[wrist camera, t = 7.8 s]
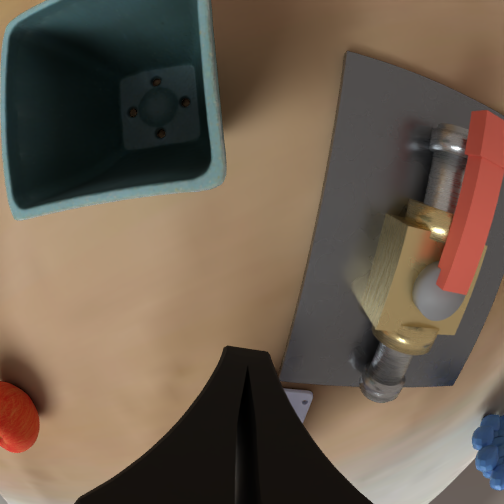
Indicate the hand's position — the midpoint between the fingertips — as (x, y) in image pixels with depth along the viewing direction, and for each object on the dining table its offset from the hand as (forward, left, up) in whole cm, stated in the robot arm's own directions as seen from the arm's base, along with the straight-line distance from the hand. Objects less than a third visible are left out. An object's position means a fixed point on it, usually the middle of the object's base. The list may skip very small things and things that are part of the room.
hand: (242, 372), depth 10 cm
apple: (-21, +23, -11) cm, 32 cm away
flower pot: (+8, +7, -11) cm, 15 cm away
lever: (+6, -10, -7) cm, 14 cm away
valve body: (+2, -11, -10) cm, 16 cm away
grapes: (-16, -29, -11) cm, 35 cm away
